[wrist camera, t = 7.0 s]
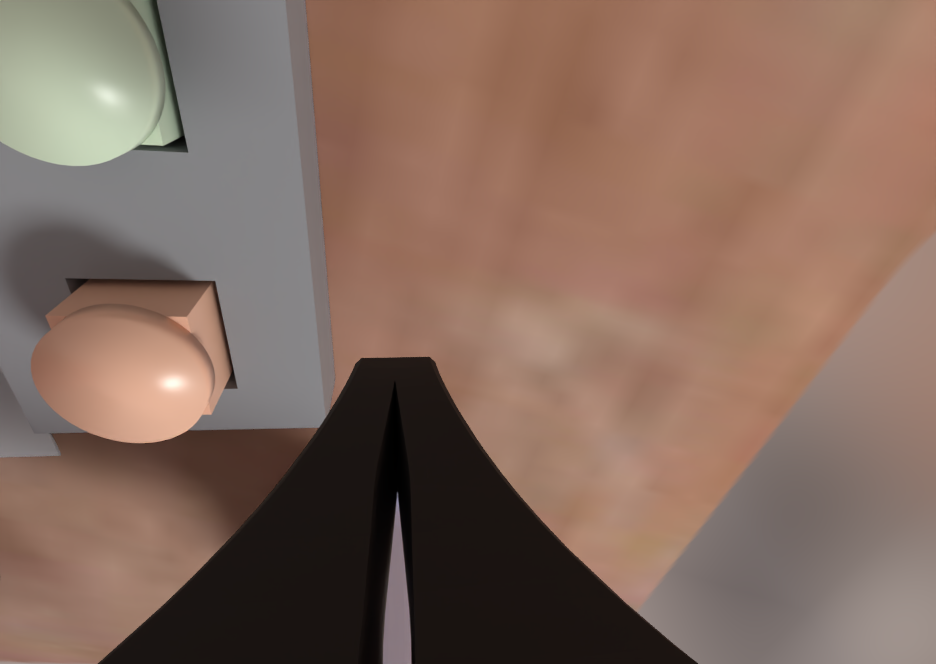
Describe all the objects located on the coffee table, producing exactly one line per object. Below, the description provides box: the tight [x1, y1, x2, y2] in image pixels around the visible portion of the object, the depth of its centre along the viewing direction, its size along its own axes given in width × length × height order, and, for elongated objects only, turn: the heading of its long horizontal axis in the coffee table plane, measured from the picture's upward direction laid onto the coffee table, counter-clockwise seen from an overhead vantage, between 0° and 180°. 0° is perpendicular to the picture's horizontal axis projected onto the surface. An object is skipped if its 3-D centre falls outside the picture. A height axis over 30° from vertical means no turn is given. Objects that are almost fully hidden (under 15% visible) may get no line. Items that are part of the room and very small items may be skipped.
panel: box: [0, 0, 335, 434], centre depth 15 cm, size 16×10×3 cm, turn 176°
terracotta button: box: [31, 279, 234, 443], centre depth 16 cm, size 4×4×4 cm
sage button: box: [0, 0, 185, 166], centre depth 12 cm, size 4×4×4 cm
